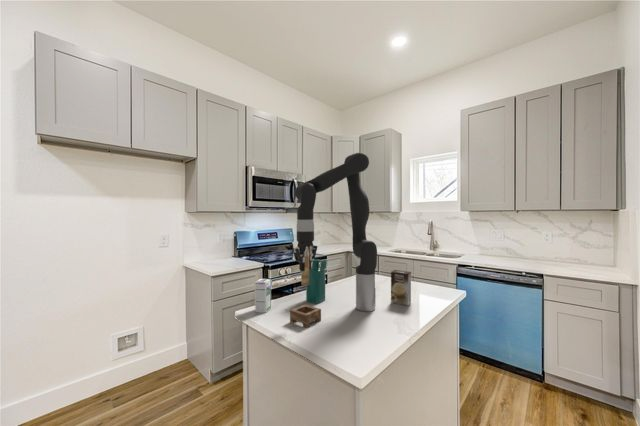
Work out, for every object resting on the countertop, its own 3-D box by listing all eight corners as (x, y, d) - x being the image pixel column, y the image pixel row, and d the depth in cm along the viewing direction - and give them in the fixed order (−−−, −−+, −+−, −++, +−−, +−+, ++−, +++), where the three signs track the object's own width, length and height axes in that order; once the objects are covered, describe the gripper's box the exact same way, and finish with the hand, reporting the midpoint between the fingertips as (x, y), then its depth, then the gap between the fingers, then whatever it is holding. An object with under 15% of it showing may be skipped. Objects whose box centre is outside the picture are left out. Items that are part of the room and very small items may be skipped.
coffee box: (390, 302, 137) (390, 271, 138) (393, 299, 143) (393, 269, 143) (408, 305, 133) (408, 273, 133) (411, 302, 138) (411, 271, 138)
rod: (305, 283, 116) (305, 246, 116) (311, 284, 114) (310, 247, 114) (299, 284, 114) (299, 247, 114) (305, 286, 112) (305, 247, 112)
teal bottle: (304, 301, 141) (304, 259, 141) (314, 296, 148) (313, 257, 148) (319, 304, 135) (319, 261, 135) (328, 300, 142) (328, 259, 142)
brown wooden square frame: (305, 315, 121) (304, 304, 121) (321, 320, 115) (320, 309, 115) (290, 322, 113) (290, 310, 113) (306, 328, 107) (306, 315, 107)
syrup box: (266, 312, 124) (266, 281, 124) (254, 312, 125) (254, 281, 125) (271, 308, 130) (271, 278, 130) (259, 307, 131) (259, 278, 131)
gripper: (300, 231, 106) (300, 274, 106) (322, 229, 117) (322, 268, 117) (287, 230, 111) (287, 271, 111) (309, 229, 122) (309, 266, 122)
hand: (305, 270), depth 114 cm, fingers closed on rod, 3 cm apart
